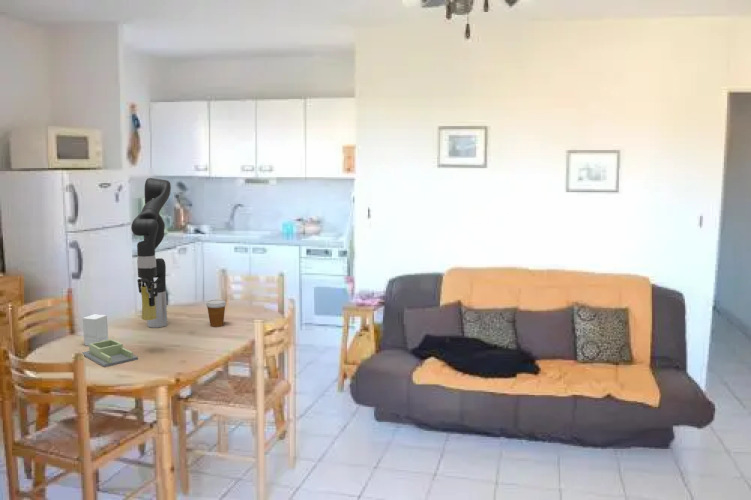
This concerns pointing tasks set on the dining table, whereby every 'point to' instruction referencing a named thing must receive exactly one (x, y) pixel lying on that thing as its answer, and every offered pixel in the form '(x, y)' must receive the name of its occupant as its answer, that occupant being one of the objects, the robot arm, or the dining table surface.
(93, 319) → the supplement box
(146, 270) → the robot arm
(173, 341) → the dining table surface
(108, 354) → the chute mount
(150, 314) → the vase
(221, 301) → the disposable coffee cup
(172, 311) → the dining table surface
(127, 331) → the dining table surface
